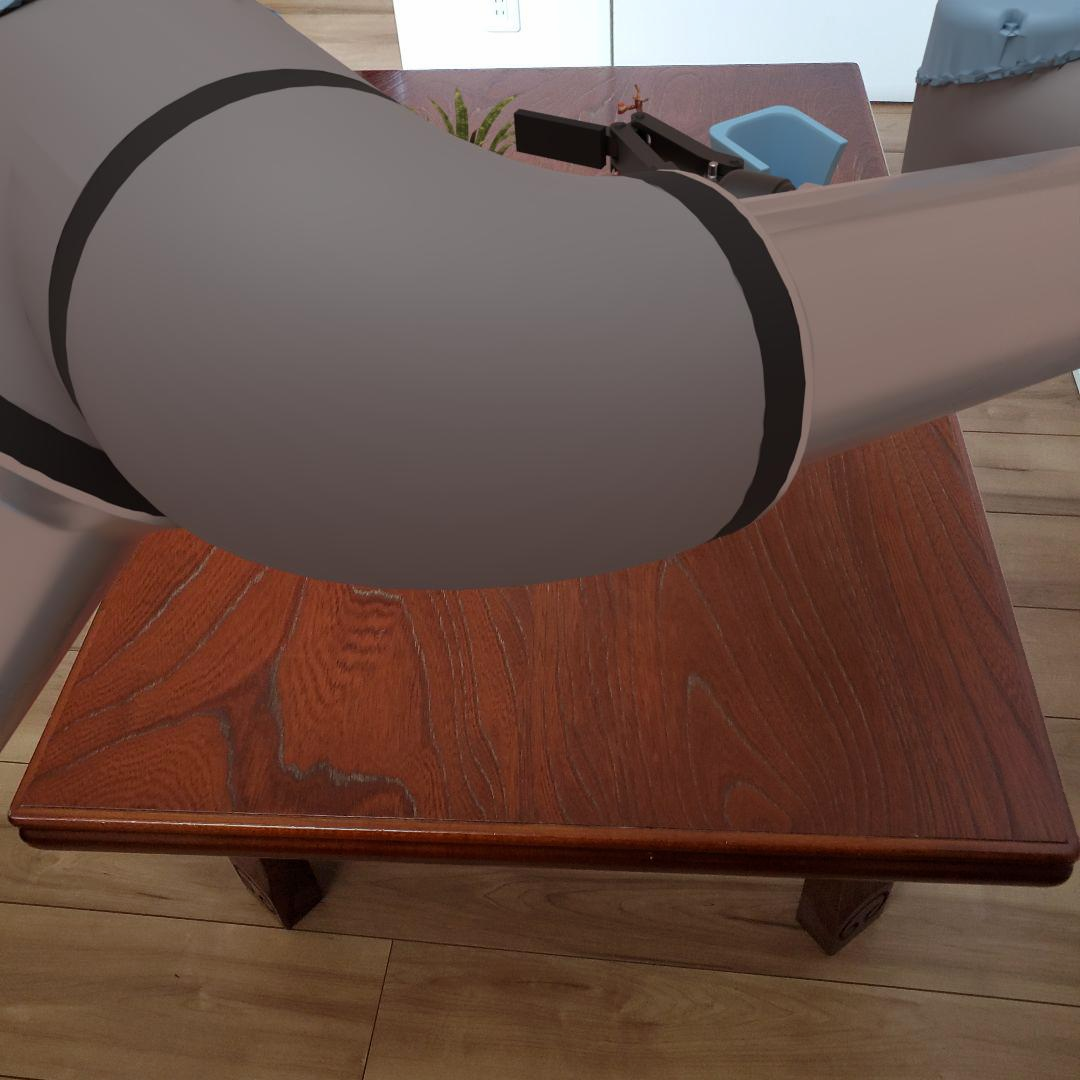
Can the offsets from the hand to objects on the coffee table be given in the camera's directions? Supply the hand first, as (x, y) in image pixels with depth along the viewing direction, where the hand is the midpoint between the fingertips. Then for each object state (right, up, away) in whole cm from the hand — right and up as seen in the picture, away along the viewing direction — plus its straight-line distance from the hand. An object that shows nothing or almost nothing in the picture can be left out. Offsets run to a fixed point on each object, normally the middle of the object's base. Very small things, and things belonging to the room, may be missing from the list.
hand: (464, 176), depth 72 cm
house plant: (-1, +4, +39) cm, 39 cm away
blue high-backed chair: (+23, -7, +26) cm, 36 cm away
